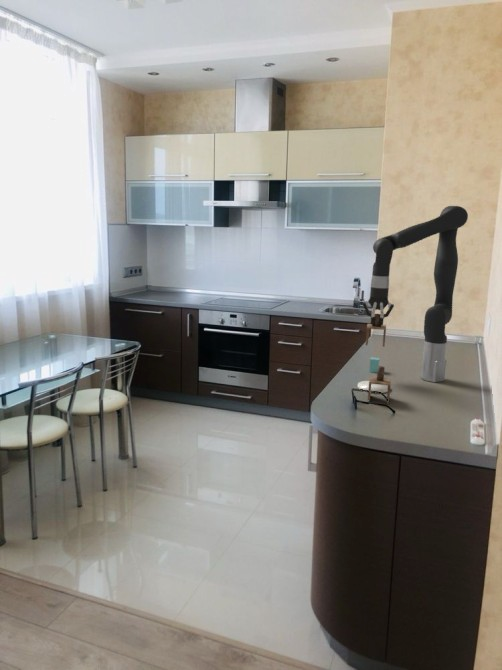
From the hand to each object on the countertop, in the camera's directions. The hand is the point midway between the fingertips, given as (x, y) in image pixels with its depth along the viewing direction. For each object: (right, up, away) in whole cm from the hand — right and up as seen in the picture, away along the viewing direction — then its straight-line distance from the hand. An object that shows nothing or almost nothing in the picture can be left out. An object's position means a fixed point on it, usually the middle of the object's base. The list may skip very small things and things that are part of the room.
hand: (376, 325), depth 240 cm
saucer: (-4, -26, -10) cm, 28 cm away
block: (+2, -21, +16) cm, 26 cm away
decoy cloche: (-5, -29, -24) cm, 38 cm away
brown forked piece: (0, -8, +2) cm, 8 cm away
